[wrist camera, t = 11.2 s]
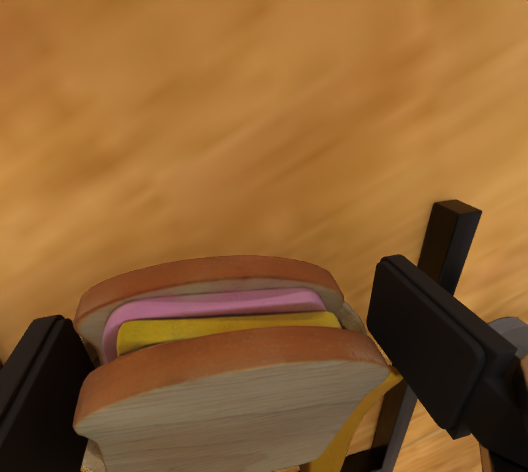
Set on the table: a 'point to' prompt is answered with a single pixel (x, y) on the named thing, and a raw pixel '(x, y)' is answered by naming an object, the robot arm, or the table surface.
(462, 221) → the frame
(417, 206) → the table surface
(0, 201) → the table surface
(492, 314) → the table surface
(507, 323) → the beverage cup
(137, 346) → the toy sandwich meal
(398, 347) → the robot arm
